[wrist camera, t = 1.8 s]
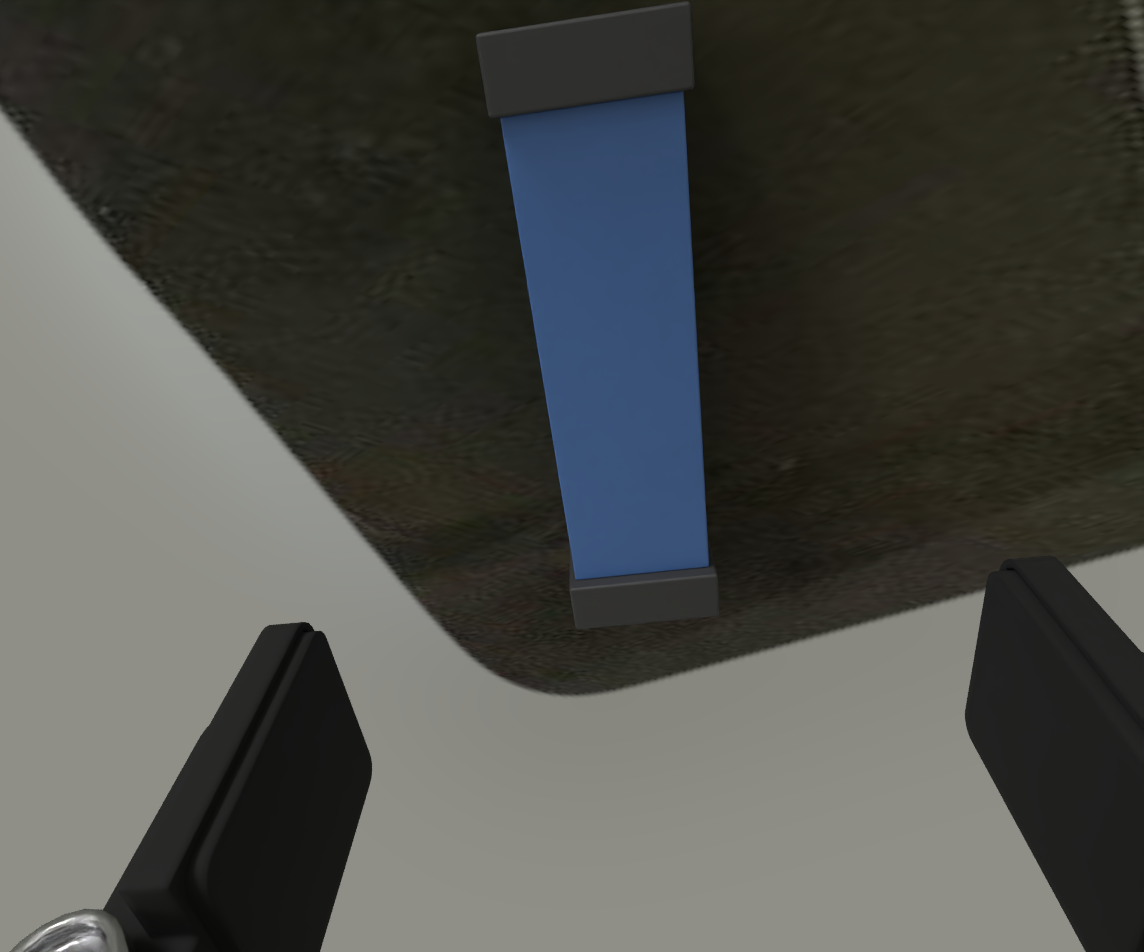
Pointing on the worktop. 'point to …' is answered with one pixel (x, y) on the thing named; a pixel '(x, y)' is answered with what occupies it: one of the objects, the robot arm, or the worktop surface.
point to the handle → (612, 297)
